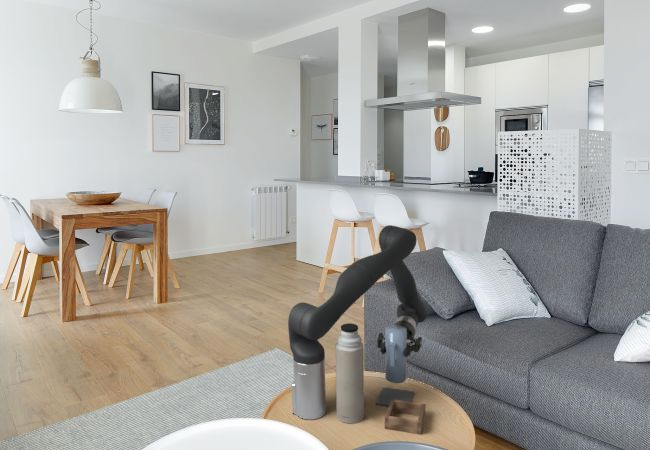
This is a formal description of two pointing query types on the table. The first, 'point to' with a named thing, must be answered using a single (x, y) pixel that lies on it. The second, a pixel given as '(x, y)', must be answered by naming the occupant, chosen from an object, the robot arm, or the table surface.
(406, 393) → the mat
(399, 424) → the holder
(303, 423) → the table surface
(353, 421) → the thermos bottle
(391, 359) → the jug
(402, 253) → the robot arm
